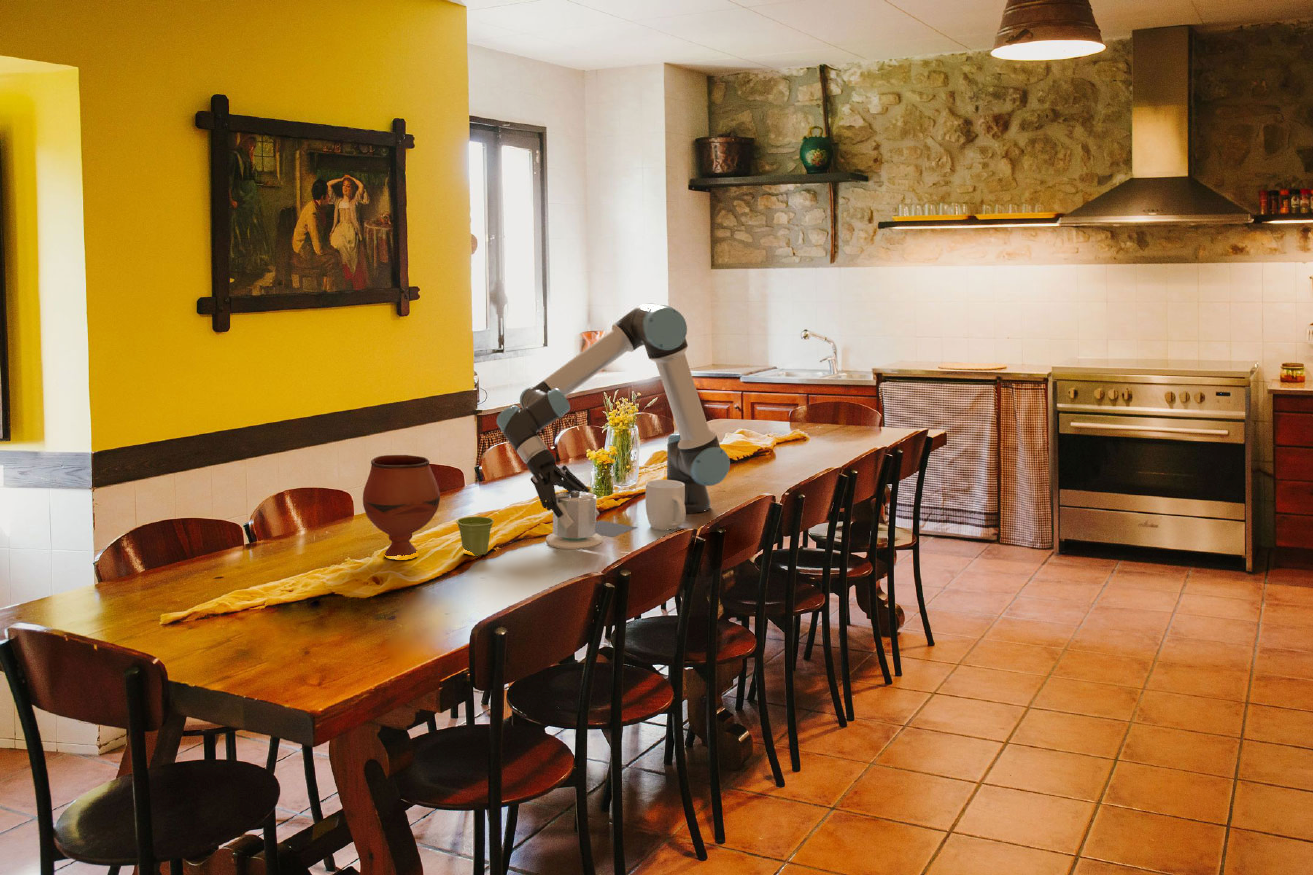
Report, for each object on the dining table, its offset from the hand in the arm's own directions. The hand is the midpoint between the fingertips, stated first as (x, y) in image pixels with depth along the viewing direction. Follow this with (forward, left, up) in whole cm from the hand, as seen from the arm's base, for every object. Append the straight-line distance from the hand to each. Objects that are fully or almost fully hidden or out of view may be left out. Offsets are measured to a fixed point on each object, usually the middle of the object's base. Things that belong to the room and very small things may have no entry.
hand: (583, 521), depth 307 cm
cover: (0, -3, -4) cm, 5 cm away
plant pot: (+24, -17, -6) cm, 30 cm away
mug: (-26, +10, -6) cm, 29 cm away
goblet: (+37, -30, -6) cm, 48 cm away
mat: (-15, -3, -6) cm, 16 cm away
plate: (0, -3, -6) cm, 7 cm away
